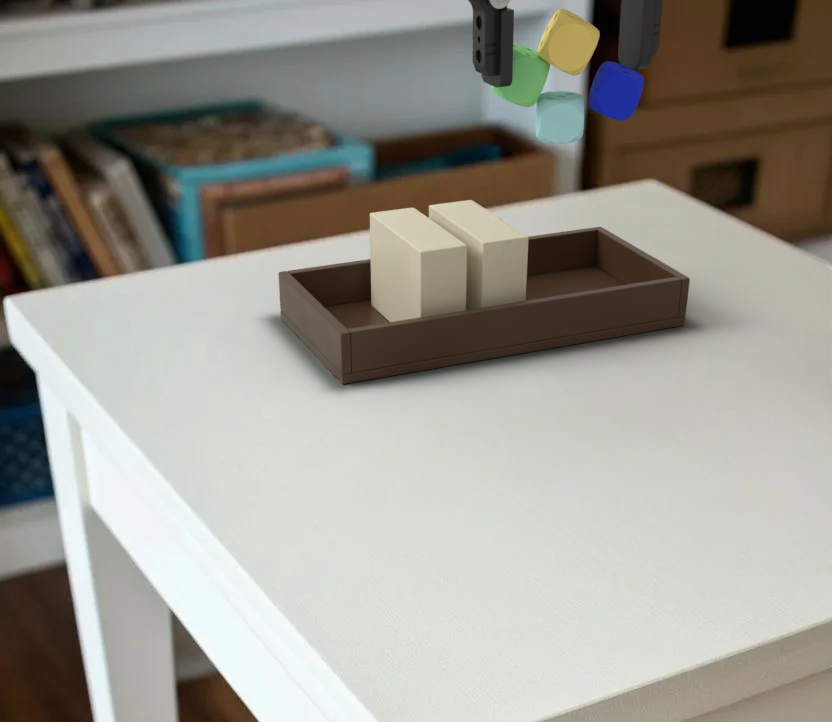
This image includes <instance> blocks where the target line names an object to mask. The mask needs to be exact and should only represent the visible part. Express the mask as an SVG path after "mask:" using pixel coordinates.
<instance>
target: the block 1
mask: <svg viewBox="0 0 832 722" xmlns="http://www.w3.org/2000/svg"><path fill="white" fill-rule="evenodd" d="M369 241H370V242H369V245H370V249H369V250H370V252H369V253H370V259H371V305H372V306H373V307H374V308H375V309H376V310H377V311H378V312H379V313H381V314H382V315H383V316H384V317H385V318H386V319H387V320H388V321H389V322H395V321H401V320H407V319H414V318H420V317H426V316H432V315H439V314H445V313H451V312H458V311H464V310H466V282H467V245H466V244H465V243H463V242H462V241H460V240H459V239H457V238H456V237H455V236H453V235H452V234H450V233H449V232H448V231H446V230H445V229H443V228H442V227H441V226H439V225H438V224H436V223H435V222H433V221H432V220H431V219H429V216H427V215H425V214H423V213H422V212H421V211H420V210H418V209H416V208H415V207H413V206H412V207H405V208H398V209H390V210H382V211H375V212H370V213H369Z"/></svg>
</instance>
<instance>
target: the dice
mask: <svg viewBox="0 0 832 722" xmlns="http://www.w3.org/2000/svg"><path fill="white" fill-rule="evenodd" d="M600 33H601V32H600V30H599V29H598V28H597V27H596V26H594V25H593V24H592V23H590V22H589V21H588V20H586V19H584V18H583V17H581V16H580V15H578V14H576V13H574V12H572V11H571V10H568V9H564V8H560V9H557V11H556V12H555V13H554V14H553V16H552V17H551V18H550V20H549V22H548V23H547V26H546V28H545V30H544V31H543V34H542V36H541V39H540V40H539V44H538V47H537V51H536V50H535V49H532V48H529V47H527V46H524V45H522V44H518V43H515V42H513V77H512V83H511V85H510V86H505V87H494V86H492V85H490V88H491V91H492V92H493V93H494V94H495V95H497V96H498V97H499V98H501V99H503V100H505V101H507V102H509V103H511V104H514V105H517V106H520V107H523V108H531V107H533V106H535V105H536V106H535V134H536V138H537V139H538V140H539V141H540V142H543V143H548V144H554V145H556V144H557V145H562V144H565V145H566V144H572V143H575V142H577V141H579V140H581V138H582V137H583V135H584V129H585V101H584V97H583V95H582V94H581V93H579V92H576V91H569V90H550V91H546V92H545V91H544V92H543V93H542V91H543V90H544V87H545V85H546V81H547V79H548V77H549V72H550V70H551V69H550V68H551V66H552V67H554V68H555V69H557V70H559V71H561V72H563V73H565V74H567V75H570V76H573V77H574V76H579V75H580V74H581V73H582V72H583V71H584V70H585V69H586V67H587V65H588V64H589V62H590V60H591V59H592V57H593V55H594V52H595V50H596V49H597V47H598V42H599V40H600V35H601V34H600ZM644 83H645V81H644V76H643V75H642V74H641V73H640V72H638V71H637V70H636V69H632V68H629V67H626V66H624V65H622V64H621V63H618V62H615V61H610V60H606V61H604V62H603V63H601V64H600V65H599V67H598V70H597V71H596V74H595V76H594V78H593V81H592V83H591V87H590V89H589V90H590V91H589V96H588V106H589V107H590V108H591V109H592V110H593V111H595V112H596V113H598V114H600V115H602V116H604V117H606V118H609V119H612V120H616V121H618V122H619V121H620V122H625V121H627V120H629V119H630V118H632V116H633V115H634V113H635V112H636V109H637V107H638V105H639V103H640V100H641V97H642V92H643V88H644Z"/></svg>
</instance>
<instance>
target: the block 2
mask: <svg viewBox="0 0 832 722" xmlns="http://www.w3.org/2000/svg"><path fill="white" fill-rule="evenodd" d="M428 218H429V219H431V220H432V221H433V222H435V223H436V224H438V225H439V226H441V227H442V228H443V229H445V230H446V231H448V232H449V233H450V234H452V235H453V236H455V237H456V238H457V239H459V240H460V241H462V242H463V243H465V244H466V245H467V282H466V310H470V309H477V308H483V307H489V306H496V305H502V304H508V303H514V302H521V301H526V283H527V261H528V239H529V238H528V237H529V236H528V235H527V234H525V233H524V232H522V231H520V230H519V229H517V228H516V227H514V226H513V225H511V224H510V223H508V222H506V221H505V220H504V219H502V218H500V217H499V216H497V215H496V214H495V213H492V212H491V211H490V210H488V209H486V208H485V207H483V206H482V205H480V204H479V203H477V202H476V201H474V200H472V199H468V200H467V199H466V200H458V201H452V202H444V203H436V204H429V205H428Z"/></svg>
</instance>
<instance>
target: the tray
mask: <svg viewBox="0 0 832 722" xmlns="http://www.w3.org/2000/svg"><path fill="white" fill-rule="evenodd" d="M528 238H529V239H528V261H527V283H526V301H521V302H514V303H508V304H502V305H496V306H489V307H483V308H477V309H470V310H464V311H458V312H451V313H445V314H439V315H432V316H426V317H420V318H414V319H407V320H401V321H395V322H389V321H388V320H387V319H386V318H385V317H384V316H383V315H382V314H381V313H379V312H378V311H377V310H376V309H375V308H374V307H373V306H372V305H371V258H368V259H361V260H353V261H346V262H340V263H332V264H325V265H318V266H311V267H305V268H297V269H290V270H283V271H279V272H278V289H279V290H278V291H279V307H280V309H279V310H280V319H281V320H282V322H283V323H285V324H286V326H287V327H288V328H289V329H290V330H291V331H292V332H293V333H294V334H295V335H296V336H297V337H298V338H299V340H300V341H301V342H302V343H303V344H304V345H305V346H306V347H307V348H308V349H309V350H310V351H311V352H312V353H313V354H314V355H315V356H316V357H317V359H319V361H320V362H321V363H322V364H323V365H324V366H325V367H326V368H327V369H328V370H329V371H330V372H331V374H333V375H334V377H335V378H336V379H337V380H338V381H339V382H340V383H341V384H343V385H347V384H351V383H357V382H363V381H369V380H375V379H380V378H387V377H392V376H398V375H404V374H409V373H415V372H421V371H428V370H433V369H439V368H445V367H450V366H455V365H456V366H457V365H461V364H468V363H473V362H480V361H485V360H490V359H491V360H492V359H497V358H501V357H508V356H513V355H519V354H524V353H531V352H536V351H542V350H549V349H554V348H555V349H556V348H560V347H565V346H572V345H578V344H583V343H589V342H595V341H601V340H607V339H613V338H617V337H618V338H619V337H624V336H629V335H635V334H642V333H647V332H653V331H659V330H665V329H669V328H670V329H671V328H678V327H683V326H685V324H686V316H687V308H688V299H689V291H690V290H689V288H690V280H691V278H690V277H688V276H687V275H685V274H683V273H681V272H680V271H678V270H676V269H675V268H673V267H671V266H669V265H668V264H666V263H665V262H662V261H661V260H660V259H657V258H656V257H654V256H652V255H650V254H649V253H647V252H646V251H644V250H642V249H640V248H639V247H637V246H635V245H633V243H630V242H628V241H626V240H625V239H623V238H622V237H620V236H618V235H616V234H614V233H613V232H611V231H609V230H608V229H606V228H604V227H602V226H594V227H586V228H580V229H573V230H565V231H559V232H551V233H545V234H537V235H530V236H528Z"/></svg>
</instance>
